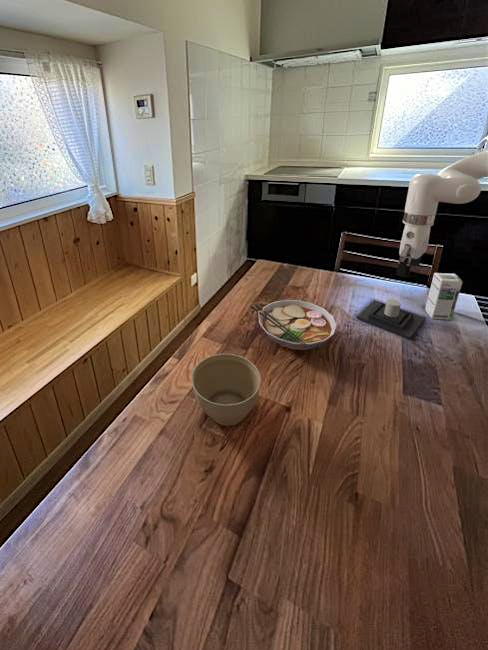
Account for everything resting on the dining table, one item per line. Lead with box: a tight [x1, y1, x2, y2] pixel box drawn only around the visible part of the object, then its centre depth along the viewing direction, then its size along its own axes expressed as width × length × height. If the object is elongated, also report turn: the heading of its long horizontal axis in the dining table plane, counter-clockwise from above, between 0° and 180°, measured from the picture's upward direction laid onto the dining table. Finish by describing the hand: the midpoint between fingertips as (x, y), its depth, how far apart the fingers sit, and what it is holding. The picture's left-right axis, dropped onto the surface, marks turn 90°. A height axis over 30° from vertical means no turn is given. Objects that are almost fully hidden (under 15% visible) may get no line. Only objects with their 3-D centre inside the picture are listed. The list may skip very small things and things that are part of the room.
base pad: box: [356, 299, 426, 341], centre depth 111 cm, size 16×14×2 cm
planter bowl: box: [190, 353, 262, 427], centre depth 81 cm, size 16×16×11 cm
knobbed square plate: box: [375, 298, 407, 324], centre depth 110 cm, size 7×7×6 cm
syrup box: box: [424, 272, 463, 321], centre depth 109 cm, size 6×6×14 cm
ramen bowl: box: [250, 299, 337, 351], centre depth 104 cm, size 25×23×8 cm
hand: (407, 270), depth 104 cm, fingers open, 9 cm apart
